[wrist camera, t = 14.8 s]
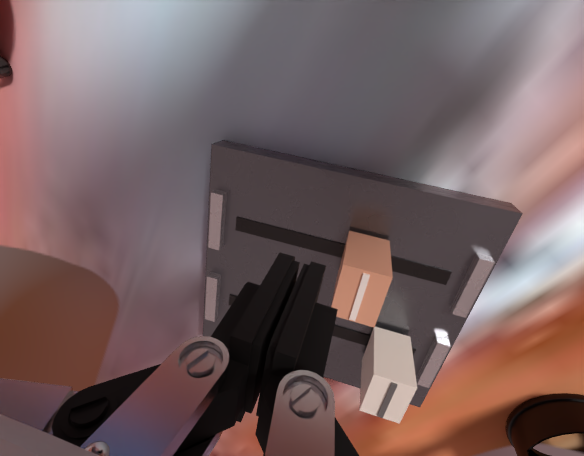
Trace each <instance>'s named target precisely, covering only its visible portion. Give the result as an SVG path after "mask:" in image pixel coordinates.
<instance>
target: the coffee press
mask: <svg viewBox="0 0 584 456" xmlns="http://www.w3.org/2000/svg"><path fill="white" fill-rule="evenodd" d="M11 73H12V68H11V66H10V64H9V63H8V62H7V61H6V60H5V59H4V58H3V57H1V56H0V78H3V77H7V76H10V75H11Z"/></svg>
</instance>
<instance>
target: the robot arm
mask: <svg viewBox="0 0 584 456" xmlns="http://www.w3.org/2000/svg"><path fill="white" fill-rule="evenodd" d="M299 264H300V262H297V261H295V256H291V255H288V254H284V253H281V252H280V253H279V254H278V256H277V258H276V259H275V261H274V263H273V264H272V266H271V268H270V269H269V271H268V273H267V275H266V276H265V278H264V280H263V281H262V283H261V285H258V284H255V283H251V282H247V283H246V284H245V285H244V287H243V288H242V290H241V291H240V293H239V294H238V296H237V297H236V299H235V300H234V302H233V303H232V305H231V306H230V308H229V309H228V311H227V312H226V314H225V316H224V317H223V319H222V320H221V322H220V323H219V325H218V326H217V328H216V329H215V331H214V332H213V334H212V335H211V337H206V336H200V337H195V338H192V339H189V340H187V341H185V342H184V343H183V344H181V345H180V346H179V347H178V348H177V349H176V350H175V351H174V352H173V353H172V354H171V355H170V356H169V357H168V358H167V359H166V360H165V361H164V362H163V363H162V364H159V365H156V366H153V367H150V368H147V369H144V370H141V371H138V372H134V373H131V374H128V375H125V376H122V377H119V378H116V379H113V380H109V381H106V382H103V383H100V384H97V385H94V386H91V387H88V388H86V389H83V390H82V391H73V388H72V387H70V386H62V385H53V384H44V383H35V382H27V381H19V380H10V379H2V378H0V456H209V455H210V453H211V451H212V450H213V448H214V447H215V445H216V443H217V442H218V440H219V438H220V436H221V434H222V432H223V431H224V430H226V429H228V428H230V427H233V426H234V425H235V423H236V421H239V422H241V421H242V418H243V416H244V414H245V411H246V412H248V413H252V411H253V409H254V406H255V404H256V401H257V398H258V396H259V393H260V396H259V402H258V407H257V413H256V416H259V418H258V423H257V429H256V436H257V439H258V441H259V443H260V446H261V448H262V450H263V453H264V454H263V456H359V455H358V453H357V451H356V450H355V448H354V447H353V445H352V443H351V442H350V440H349V439H348V437H347V436H346V434H345V432H344V431H343V429H342V428H341V426H340V424H339V423H338V421H337V420H336V418H335V401H334V394H333V391H332V389H331V387H330V385H329V384H328V383H327V382H326V381H325V379H324V378H323V376H324V372H325V367H326V362H327V358H328V353H329V348H330V344H331V339H332V334H333V330H334V325H335V320H336V316H337V311H338V309H336V308H332V307H329V306H326V305H323V304H319V303H317V300H318V296H319V292H320V288H321V284H322V281H323V277H324V273H325V269H326V265H323V264H319V263H316V262H312V261H311V262H310V265H308V264H304V265H303V267H302V269H301V271H300V274H299V276H298V278H297V274H298V269H299ZM296 279H297V281H296Z"/></svg>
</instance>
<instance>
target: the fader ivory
mask: <svg viewBox="0 0 584 456" xmlns="http://www.w3.org/2000/svg"><path fill="white" fill-rule="evenodd" d="M416 390H417V382H416V375H415V367H414V360H413V352H412V345H411V337H410V336H406V335H403V334H399V333H396V332H393V331H389V330H386V329H382V328H379V327H374V328H373V331H372V334H371V336H370V339H369V342H368V345H367V347H366V350H365V353H364V356H363V358H362V370H361V389H360V409H359V410H360V411H363V412H366V413H369V414H372V415H375V416H378V417H381V418H384V419H387V420H390V421H393V422H396V423H400V421H401V419H402V417H403V415H404V413H405V411H406V409H407V407H408V405H409V403H410V401H411V400H412V398H413V396H414V394H415V392H416Z"/></svg>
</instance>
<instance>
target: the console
mask: <svg viewBox="0 0 584 456" xmlns="http://www.w3.org/2000/svg"><path fill="white" fill-rule="evenodd" d="M522 214H523V213H521V212H520V211H519V210H518V209H517V208H516V207H515V206H514V205H512V204H511V203H508V202H503V201H498V200H494V199H489V198H485V197H480V196H476V195H471V194H467V193H462V192H457V191H453V190H448V189H444V188H439V187H435V186H430V185H425V184H421V183H416V182H412V181H407V180H403V179H398V178H394V177H389V176H384V175H380V174H375V173H371V172H366V171H362V170H357V169H353V168H348V167H343V166H339V165H334V164H330V163H325V162H321V161H316V160H311V159H307V158H302V157H298V156H293V155H289V154H284V153H280V152H275V151H270V150H266V149H261V148H257V147H252V146H248V145H243V144H239V143H234V142H229V141H225V140H222V141H219V142H217V143H214V144H212V149H211V171H210V192H209V214H208V236H207V258H206V280H205V302H204V323H203V336H206V337H211V335H212V334H213V332H214V331H215V329H216V328H217V326H218V325H219V323H220V322H221V320H222V319H223V317H224V316H225V314H226V312H227V311H228V309H229V308H230V306H231V305H232V303H233V302H234V300H235V299H236V297H237V296H238V294H239V293H240V291H241V290H242V288H243V287H244V285H245V284H246V283H247V282H251V283H255V284H258V285H261V283H262V281H263V280H264V278H265V276H266V275H267V273H268V271H269V269H270V268H271V266H272V264H273V263H274V261H275V259H276V258H277V256H278V254H279V253H280V252H281V253H284V254H288V255H291V256H295V261H297V262H300V264H299V269H298V274H297V278H298V276H299V274H300V271H301V269H302V267H303V265H304V264H308V265H310V262H311V261H312V262H316V263H319V264H323V265H326V269H325V273H324V277H323V281H322V284H321V288H320V292H319V296H318V300H317V303H319V304H323V305H326V306H329V307H331V303H332V299H333V294H334V289H335V284H336V279H337V274H338V270H339V267H340V263H341V259H342V256H343V252H344V248H345V244H346V241H347V237H348V233H349V231H353V232H357V233H361V234H365V235H369V236H373V237H377V238H381V239H385V240H389V241H390V251H391V263H392V275H393V278H392V281H391V284H390V286H389V289H388V292H387V294H386V297H385V300H384V303H383V305H382V308H381V311H380V314H379V316H378V319H377V322H376V325H375V327H379V328H382V329H386V330H389V331H393V332H396V333H399V334H403V335H406V336H410V337H411V345H412V352H413V360H414V367H415V375H416V382H417V390H416V392H415V394H414V396H413V398H412V400H411V401H410V403H409V404H411V405H414V406H418V407H420V406H421V404H422V403H423V401H424V399H425V397H426V395H427V393H428V391H429V389H430V387H431V386H432V384H433V382H434V380H435V378H436V376H437V374H438V372H439V370H440V369H441V367H442V365H443V363H444V361H445V359H446V357H447V355H448V353H449V352H450V350H451V348H452V346H453V344H454V342H455V340H456V338H457V336H458V335H459V333H460V331H461V329H462V327H463V325H464V323H465V321H466V319H467V318H468V316H469V314H470V312H471V310H472V308H473V306H474V304H475V302H476V301H477V299H478V297H479V295H480V293H481V291H482V289H483V287H484V285H485V284H486V282H487V280H488V278H489V276H490V274H491V272H492V270H493V268H494V267H495V265H496V263H497V261H498V259H499V257H500V255H501V253H502V251H503V250H504V248H505V246H506V244H507V242H508V240H509V238H510V236H511V234H512V233H513V231H514V229H515V227H516V225H517V223H518V221H519V219H520V217H521V216H522ZM296 281H297V279H296ZM373 328H374V327H370V326H367V325H363V324H360V323H357V322H353V321H350V320H346V319H343V318H339V317H336V320H335V325H334V330H333V334H332V339H331V344H330V348H329V353H328V358H327V362H326V367H325V372H324V376H323V377H326V378H329V379H333V380H336V381H339V382H342V383H345V384H348V385H352V386H355V387H358V388H361V370H362V358H363V356H364V353H365V350H366V347H367V345H368V342H369V339H370V336H371V334H372V331H373Z"/></svg>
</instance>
